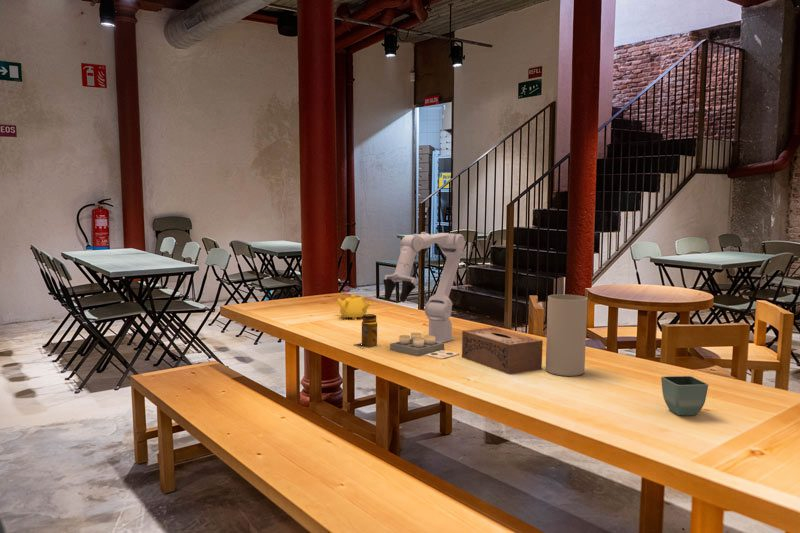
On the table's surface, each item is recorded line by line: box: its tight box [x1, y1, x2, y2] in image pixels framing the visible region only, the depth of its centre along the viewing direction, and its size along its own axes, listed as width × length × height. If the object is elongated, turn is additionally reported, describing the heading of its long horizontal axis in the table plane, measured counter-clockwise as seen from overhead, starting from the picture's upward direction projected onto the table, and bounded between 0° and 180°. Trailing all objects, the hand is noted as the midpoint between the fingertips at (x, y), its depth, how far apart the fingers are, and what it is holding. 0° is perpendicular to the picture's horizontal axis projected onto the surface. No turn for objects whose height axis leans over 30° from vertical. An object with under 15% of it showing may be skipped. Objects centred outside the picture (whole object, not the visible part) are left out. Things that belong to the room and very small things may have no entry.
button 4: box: [424, 334, 435, 345], centre depth 239 cm, size 4×4×3 cm
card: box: [424, 349, 460, 360], centre depth 232 cm, size 10×8×1 cm
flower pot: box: [660, 375, 709, 416], centre depth 169 cm, size 9×9×9 cm
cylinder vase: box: [545, 294, 588, 377], centre depth 209 cm, size 12×12×25 cm
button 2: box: [410, 332, 422, 342], centre depth 244 cm, size 4×4×3 cm
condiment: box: [353, 313, 382, 349], centre depth 245 cm, size 7×8×12 cm
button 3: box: [413, 337, 425, 348], centre depth 235 cm, size 4×4×3 cm
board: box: [389, 338, 445, 357], centre depth 240 cm, size 15×14×2 cm
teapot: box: [336, 294, 372, 320], centre depth 304 cm, size 20×18×11 cm
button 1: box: [398, 334, 411, 345], centre depth 239 cm, size 4×4×3 cm
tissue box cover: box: [461, 326, 544, 375], centre depth 221 cm, size 26×14×10 cm, turn 31°
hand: (394, 300), depth 234 cm, fingers open, 7 cm apart
